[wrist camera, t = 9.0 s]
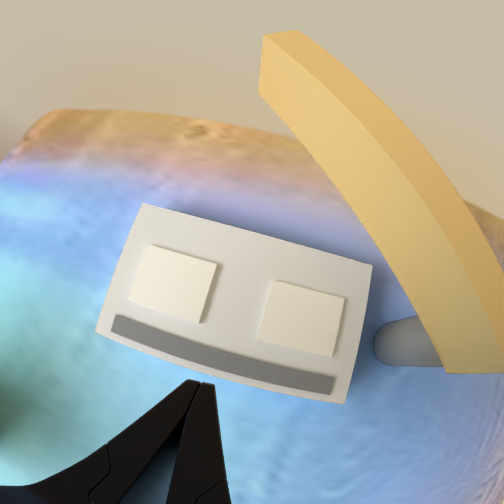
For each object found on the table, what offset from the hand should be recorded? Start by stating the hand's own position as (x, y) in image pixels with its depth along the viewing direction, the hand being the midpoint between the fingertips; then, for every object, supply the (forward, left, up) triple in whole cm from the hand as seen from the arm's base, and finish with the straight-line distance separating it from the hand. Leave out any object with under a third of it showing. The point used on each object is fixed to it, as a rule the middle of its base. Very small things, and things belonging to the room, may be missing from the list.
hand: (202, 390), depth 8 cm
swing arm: (0, -10, -8) cm, 13 cm away
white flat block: (+2, -3, -8) cm, 9 cm away
